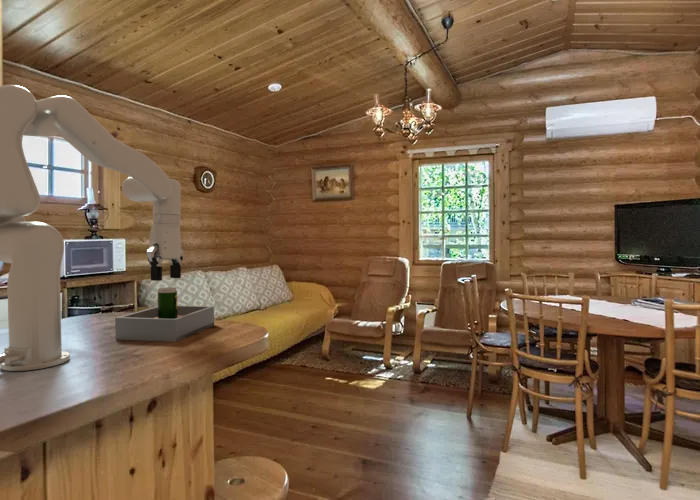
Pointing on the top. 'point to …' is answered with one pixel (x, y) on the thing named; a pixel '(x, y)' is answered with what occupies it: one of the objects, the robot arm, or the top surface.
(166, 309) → the beer can
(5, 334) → the top surface
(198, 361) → the top surface
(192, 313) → the walled box
